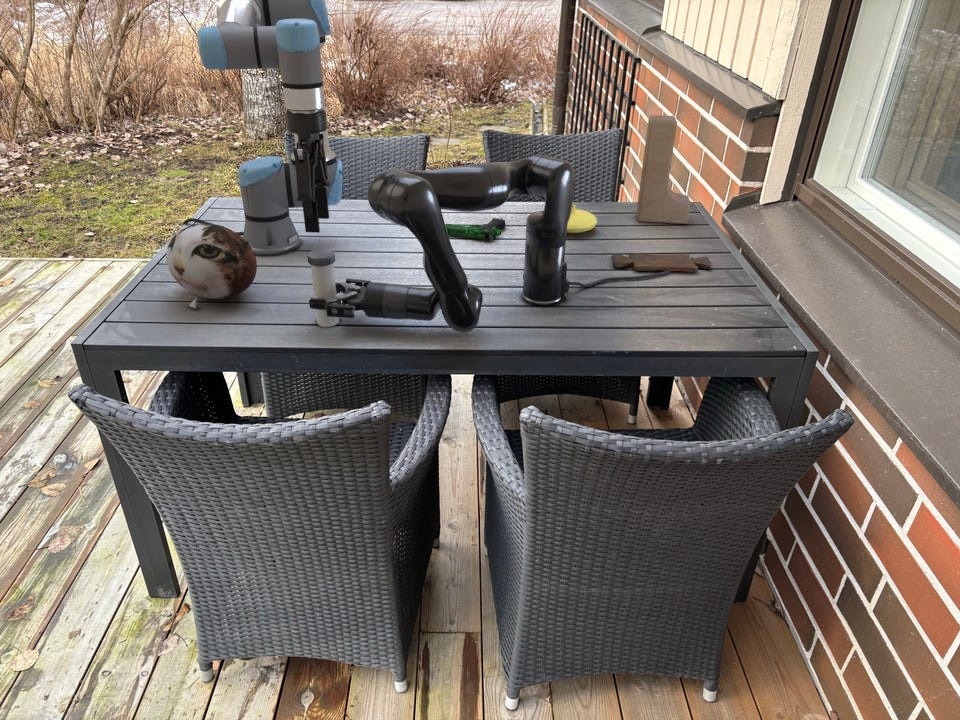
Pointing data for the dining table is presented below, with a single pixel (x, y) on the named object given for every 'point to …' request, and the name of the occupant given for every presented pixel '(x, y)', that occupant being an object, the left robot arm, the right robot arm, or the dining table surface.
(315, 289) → the jar
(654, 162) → the decorative block
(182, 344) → the dining table surface
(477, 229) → the handgun
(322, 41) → the left robot arm
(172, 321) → the dining table surface
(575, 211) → the yellow rounded piece
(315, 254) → the lid
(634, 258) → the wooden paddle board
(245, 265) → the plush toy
